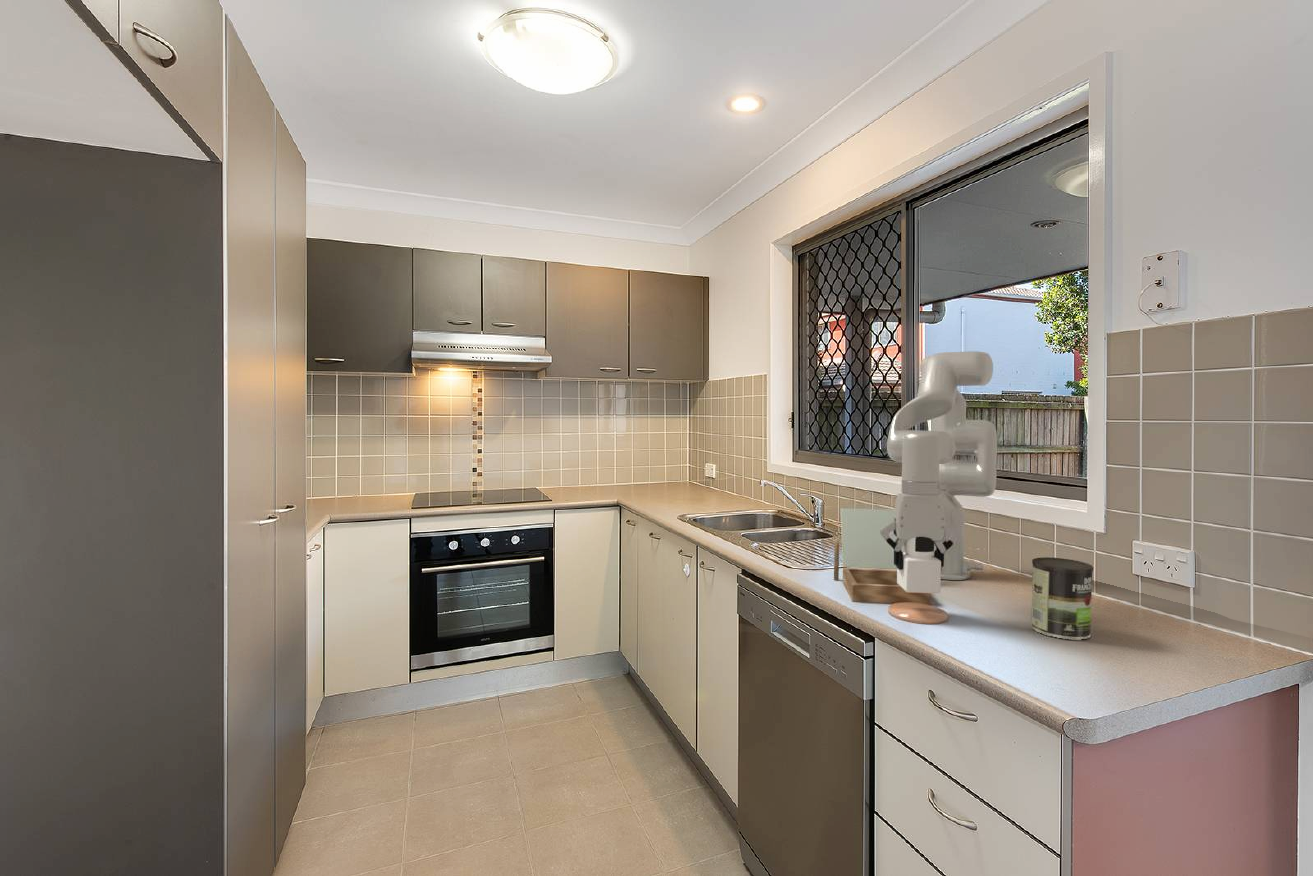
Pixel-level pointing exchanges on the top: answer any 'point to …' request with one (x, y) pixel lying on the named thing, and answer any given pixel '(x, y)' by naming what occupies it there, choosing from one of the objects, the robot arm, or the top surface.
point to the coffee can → (1061, 598)
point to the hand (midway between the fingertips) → (918, 568)
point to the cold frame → (879, 587)
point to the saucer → (918, 613)
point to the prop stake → (836, 559)
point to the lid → (866, 538)
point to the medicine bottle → (920, 567)
